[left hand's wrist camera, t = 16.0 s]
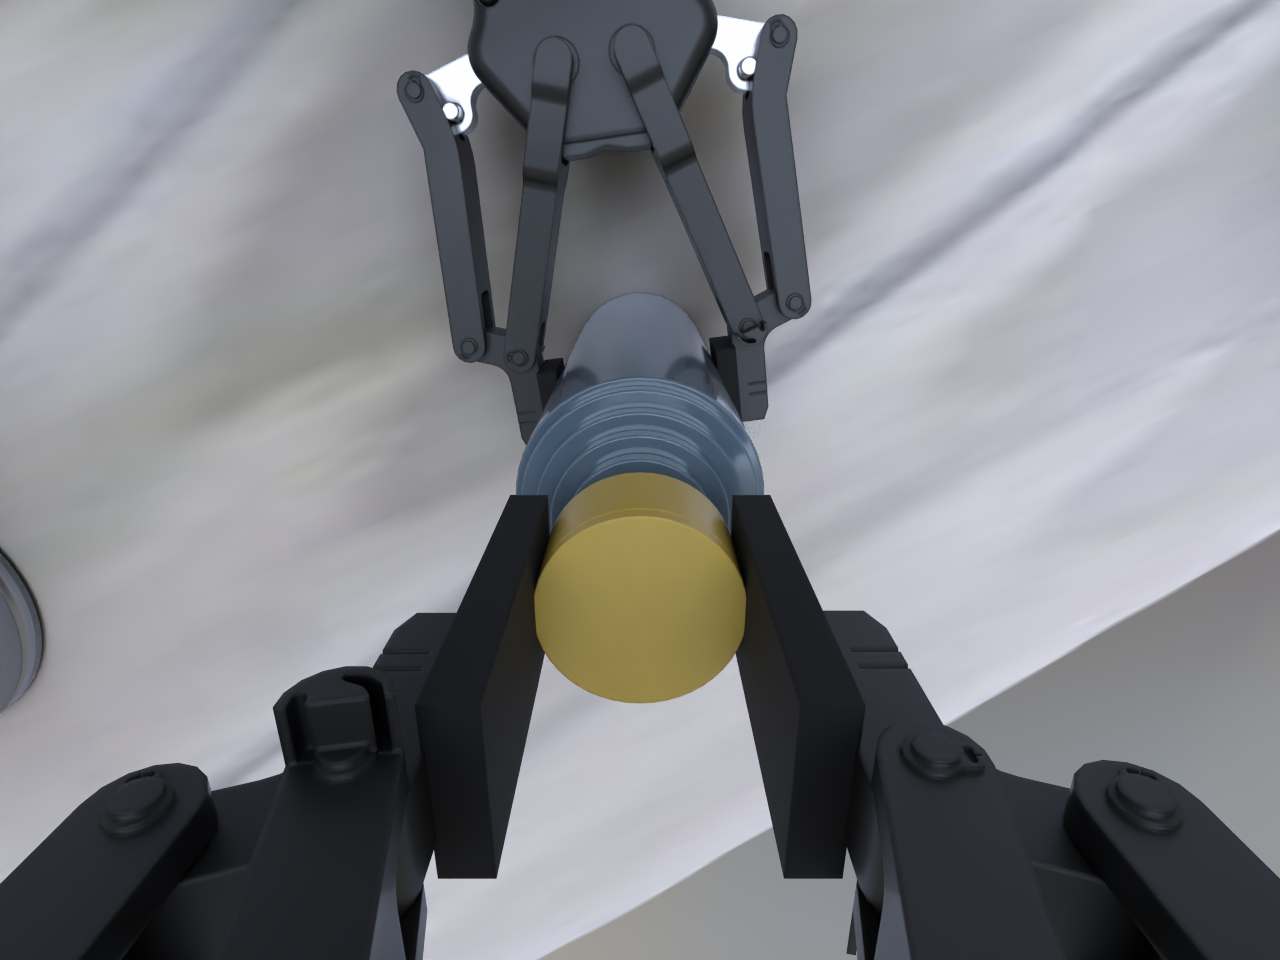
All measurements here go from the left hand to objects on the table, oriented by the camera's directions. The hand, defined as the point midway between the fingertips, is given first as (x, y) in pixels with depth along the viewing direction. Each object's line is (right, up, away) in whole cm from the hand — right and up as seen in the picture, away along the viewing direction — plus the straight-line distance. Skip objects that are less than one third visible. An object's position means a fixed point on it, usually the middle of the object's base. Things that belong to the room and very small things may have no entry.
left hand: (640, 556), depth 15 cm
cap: (0, -1, -2) cm, 2 cm away
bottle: (0, +7, +20) cm, 21 cm away
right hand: (+1, +1, +16) cm, 16 cm away
